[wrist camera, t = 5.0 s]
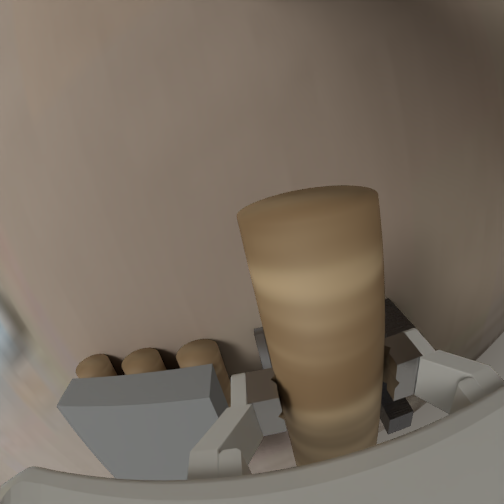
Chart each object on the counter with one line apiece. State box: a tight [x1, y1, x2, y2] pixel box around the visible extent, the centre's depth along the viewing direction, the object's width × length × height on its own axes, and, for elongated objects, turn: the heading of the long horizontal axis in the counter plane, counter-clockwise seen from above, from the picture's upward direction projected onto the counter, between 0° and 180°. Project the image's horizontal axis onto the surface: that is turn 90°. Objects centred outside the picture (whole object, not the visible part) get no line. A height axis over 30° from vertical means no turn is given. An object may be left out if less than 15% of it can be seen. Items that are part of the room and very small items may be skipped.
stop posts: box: [380, 299, 424, 434], centre depth 26 cm, size 11×2×7 cm, turn 12°
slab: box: [57, 364, 229, 480], centre depth 24 cm, size 12×14×4 cm
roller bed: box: [76, 327, 272, 407], centre depth 28 cm, size 12×25×4 cm, turn 102°
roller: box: [237, 185, 385, 466], centre depth 10 cm, size 12×4×4 cm, turn 12°
